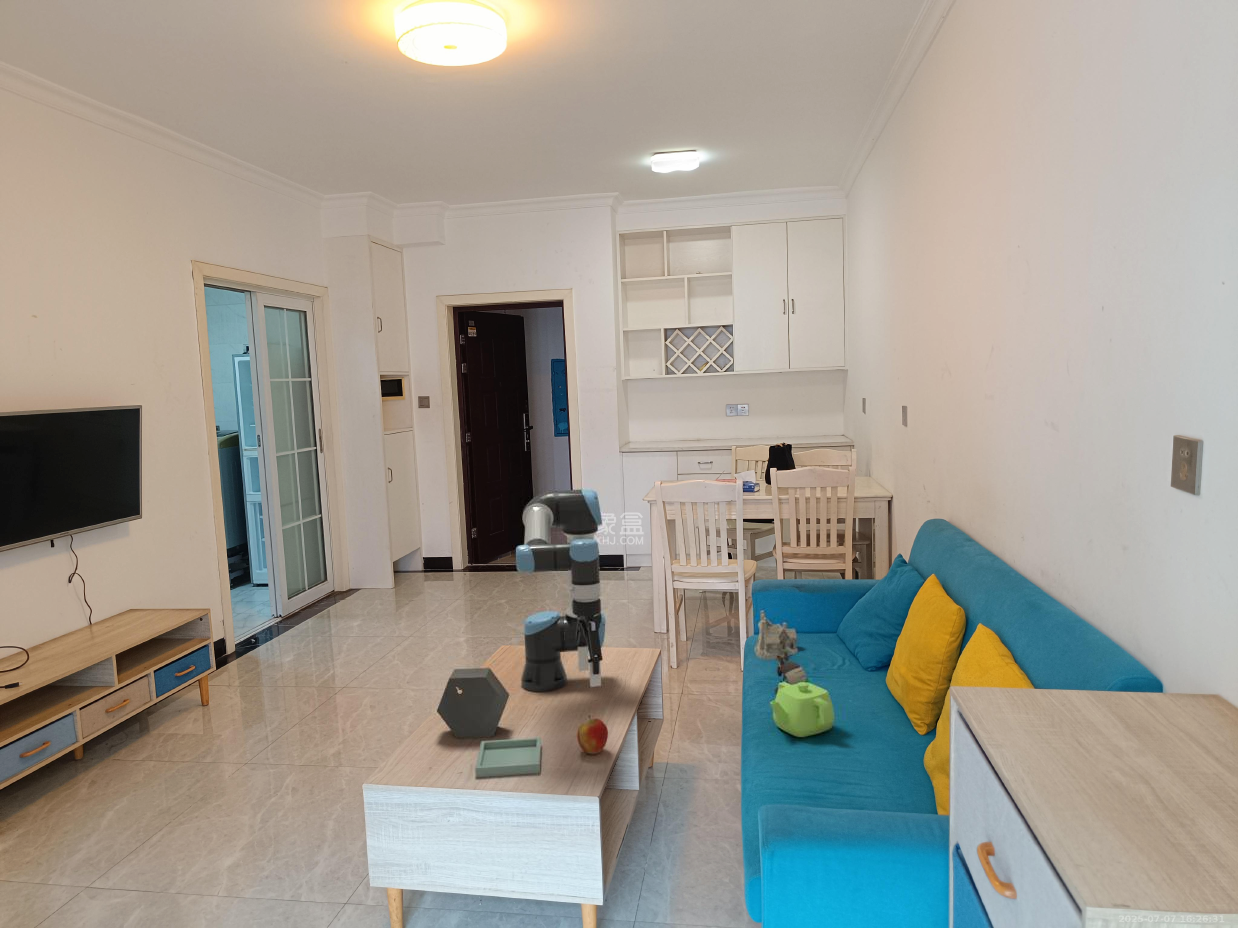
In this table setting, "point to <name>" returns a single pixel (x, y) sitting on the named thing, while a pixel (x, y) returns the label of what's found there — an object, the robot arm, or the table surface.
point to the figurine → (791, 671)
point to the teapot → (802, 709)
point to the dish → (509, 757)
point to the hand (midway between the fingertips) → (589, 677)
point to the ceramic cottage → (774, 640)
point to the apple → (592, 736)
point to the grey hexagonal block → (473, 703)
